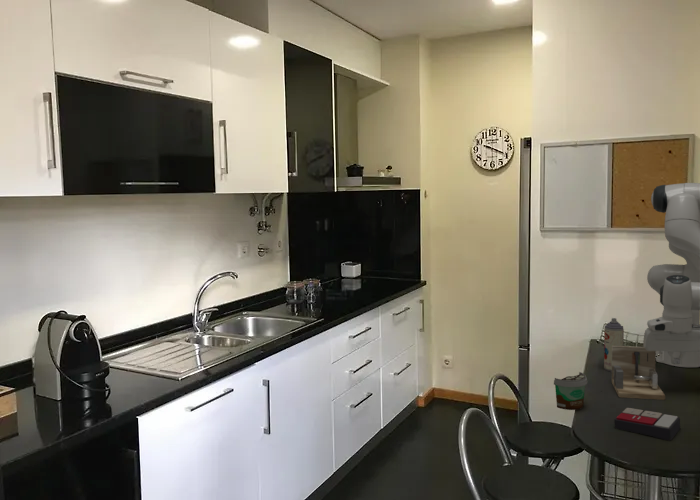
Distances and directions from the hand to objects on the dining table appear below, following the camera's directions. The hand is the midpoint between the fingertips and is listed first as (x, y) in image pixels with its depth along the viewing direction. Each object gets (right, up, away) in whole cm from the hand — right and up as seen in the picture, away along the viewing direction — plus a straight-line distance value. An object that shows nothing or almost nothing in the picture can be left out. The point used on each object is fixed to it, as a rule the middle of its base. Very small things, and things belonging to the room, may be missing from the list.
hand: (676, 363), depth 201 cm
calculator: (-24, -14, -28) cm, 39 cm away
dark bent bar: (-9, -8, +8) cm, 14 cm away
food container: (-38, -13, -10) cm, 41 cm away
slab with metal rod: (-9, -8, +4) cm, 13 cm away
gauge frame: (-12, -10, +4) cm, 16 cm away
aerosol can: (-9, -8, +28) cm, 30 cm away
